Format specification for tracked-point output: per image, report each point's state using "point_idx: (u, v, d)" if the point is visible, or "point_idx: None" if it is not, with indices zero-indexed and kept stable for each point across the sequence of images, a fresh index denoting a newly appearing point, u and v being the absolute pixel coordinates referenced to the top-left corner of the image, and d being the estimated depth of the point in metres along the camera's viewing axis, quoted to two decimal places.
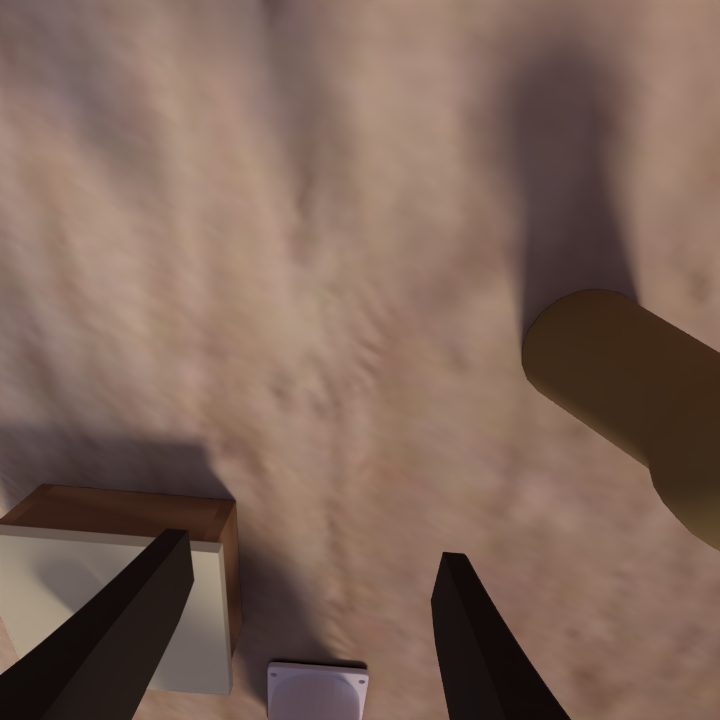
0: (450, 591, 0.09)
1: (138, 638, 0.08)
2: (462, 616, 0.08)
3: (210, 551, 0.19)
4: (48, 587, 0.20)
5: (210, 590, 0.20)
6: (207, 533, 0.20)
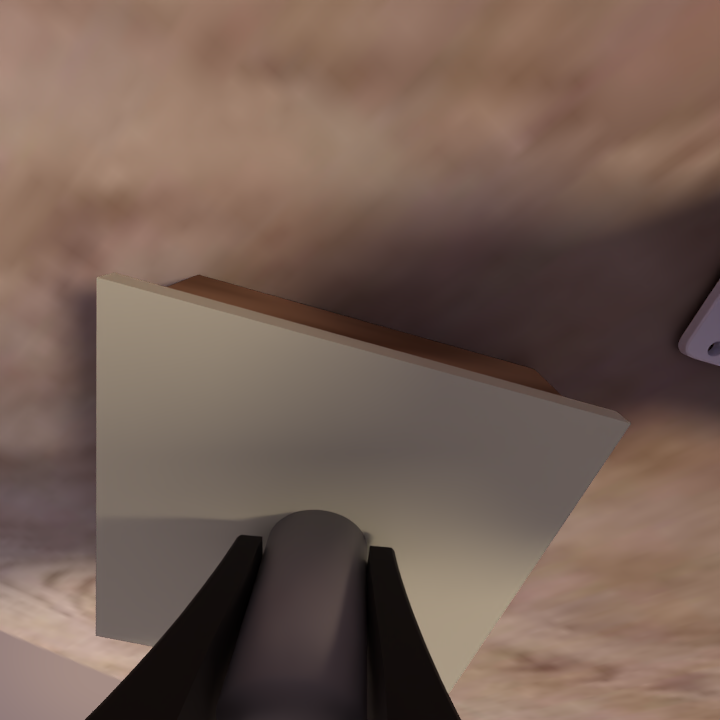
0: (370, 584, 0.09)
1: (229, 646, 0.08)
2: (374, 609, 0.08)
3: (101, 296, 0.08)
4: None
5: (224, 337, 0.08)
6: None
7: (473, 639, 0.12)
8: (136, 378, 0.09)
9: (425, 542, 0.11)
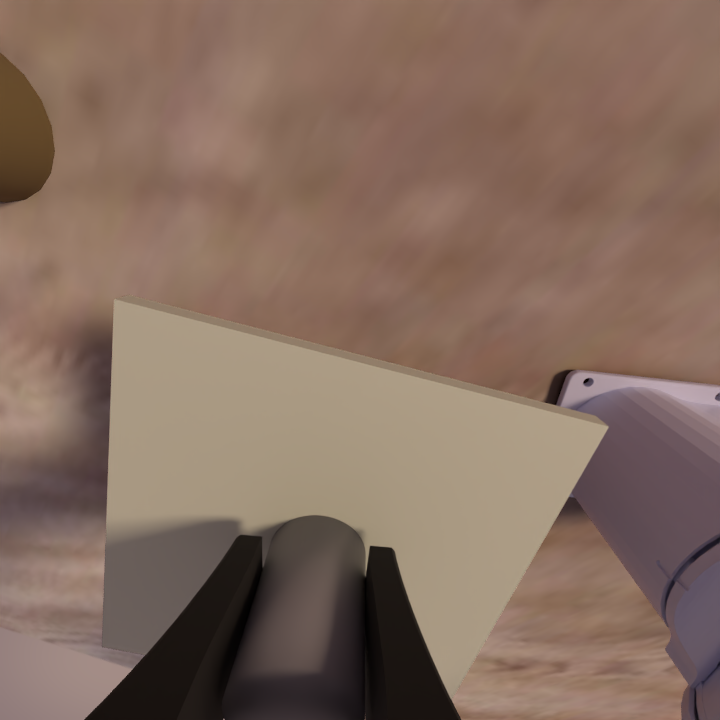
0: (370, 584, 0.09)
1: (229, 646, 0.08)
2: (374, 609, 0.08)
3: (118, 316, 0.09)
4: None
5: (229, 352, 0.09)
6: None
7: (471, 644, 0.13)
8: (147, 391, 0.10)
9: (421, 546, 0.11)
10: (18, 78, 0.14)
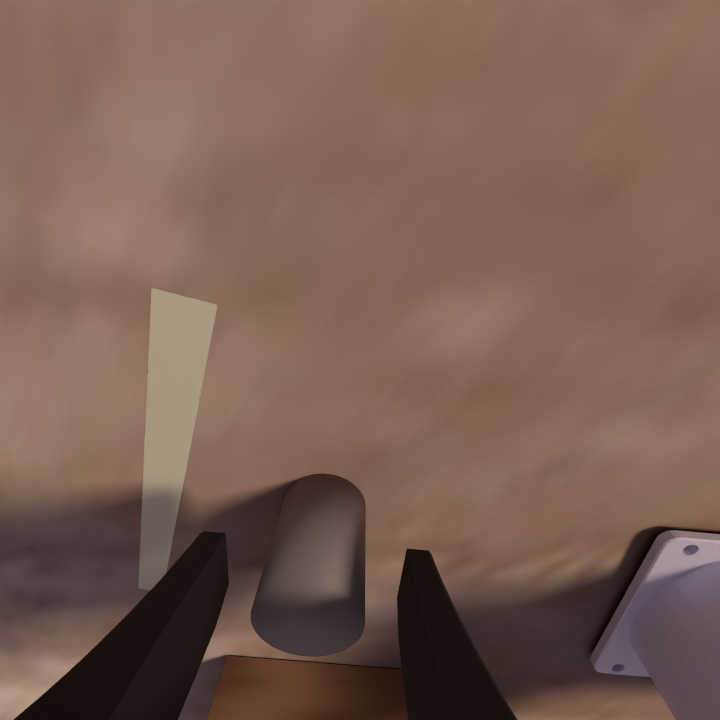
0: (410, 588, 0.09)
1: (183, 642, 0.08)
2: (419, 612, 0.08)
3: (154, 302, 0.11)
4: None
5: None
6: None
7: None
8: (179, 367, 0.11)
9: None
10: None
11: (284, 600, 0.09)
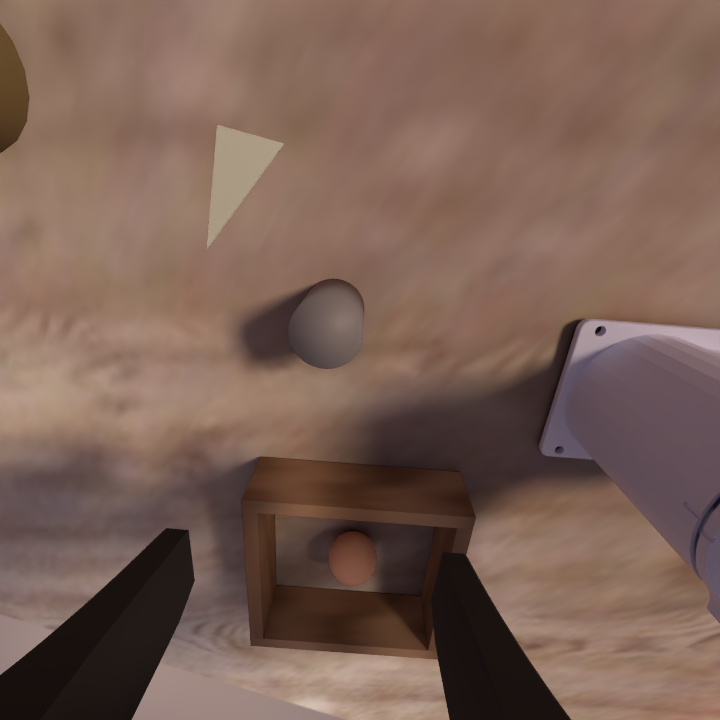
0: (450, 591, 0.09)
1: (137, 639, 0.08)
2: (462, 616, 0.08)
3: (218, 137, 0.15)
4: None
5: None
6: None
7: None
8: (233, 188, 0.16)
9: None
10: None
11: (310, 314, 0.14)
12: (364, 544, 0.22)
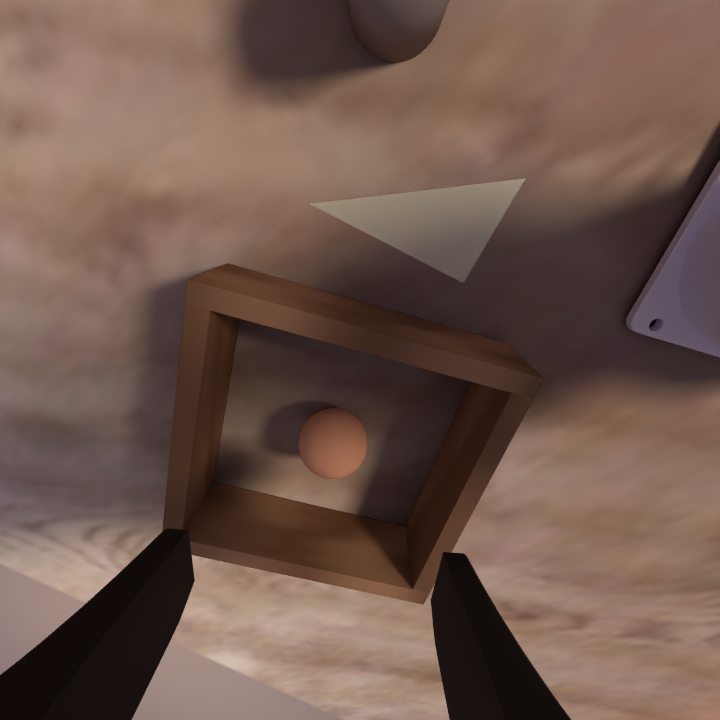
0: (450, 591, 0.09)
1: (137, 639, 0.08)
2: (462, 616, 0.08)
3: None
4: None
5: None
6: None
7: (511, 182, 0.13)
8: None
9: None
10: None
11: None
12: (356, 422, 0.15)
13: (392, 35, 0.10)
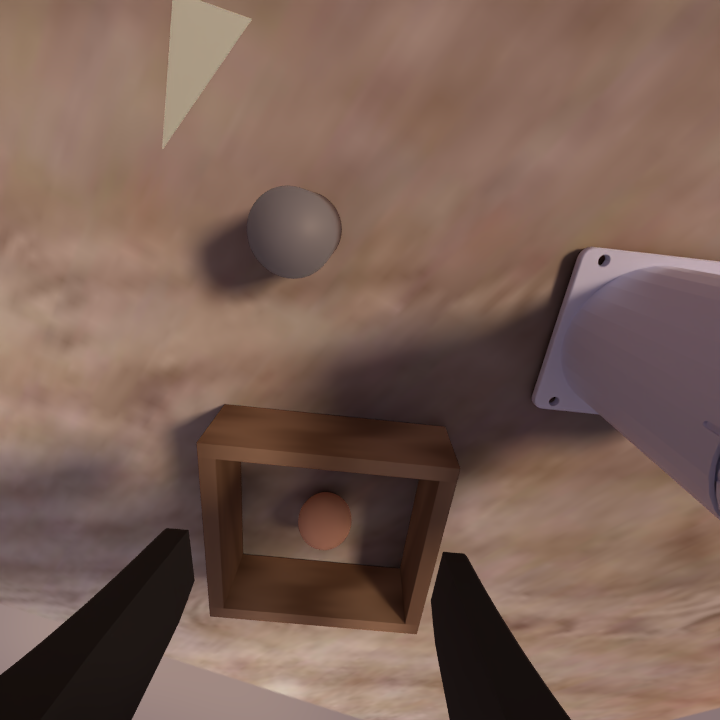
0: (450, 591, 0.09)
1: (137, 639, 0.08)
2: (462, 616, 0.08)
3: (174, 8, 0.13)
4: None
5: None
6: None
7: None
8: (192, 74, 0.14)
9: None
10: None
11: (272, 207, 0.12)
12: (338, 504, 0.20)
13: None
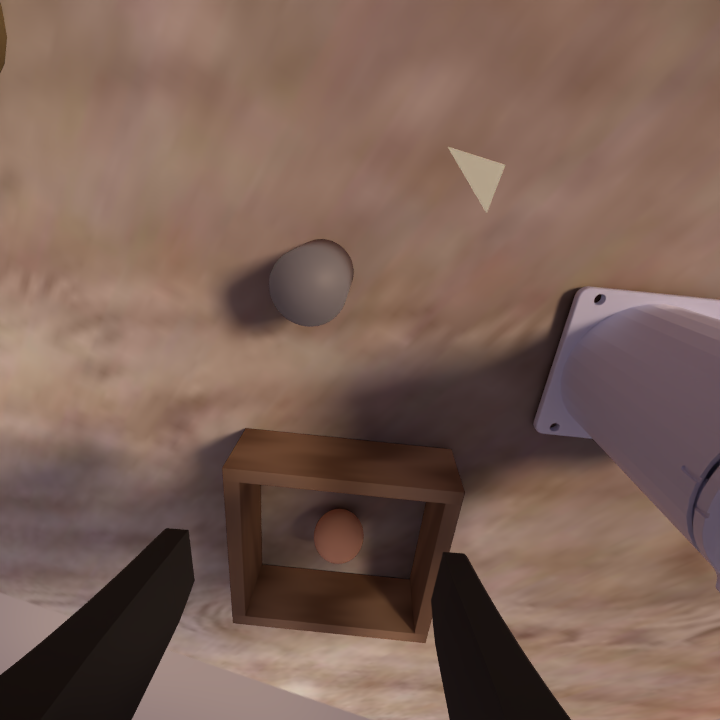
0: (450, 591, 0.09)
1: (137, 639, 0.08)
2: (462, 616, 0.08)
3: None
4: None
5: None
6: None
7: None
8: None
9: None
10: None
11: (292, 266, 0.13)
12: (351, 521, 0.21)
13: None
